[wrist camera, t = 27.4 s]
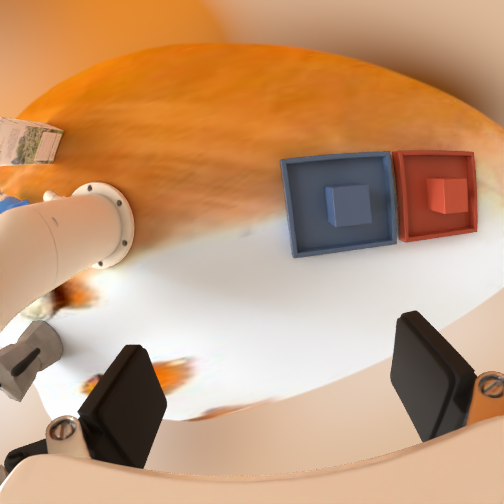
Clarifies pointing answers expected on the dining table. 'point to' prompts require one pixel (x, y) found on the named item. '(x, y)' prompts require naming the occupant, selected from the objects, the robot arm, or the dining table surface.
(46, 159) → the syrup box
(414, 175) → the red tray
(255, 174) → the dining table surface
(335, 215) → the blue block
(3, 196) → the blue mole toy
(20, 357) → the coffeepot
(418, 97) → the dining table surface
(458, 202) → the red block
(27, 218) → the robot arm
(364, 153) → the blue tray
